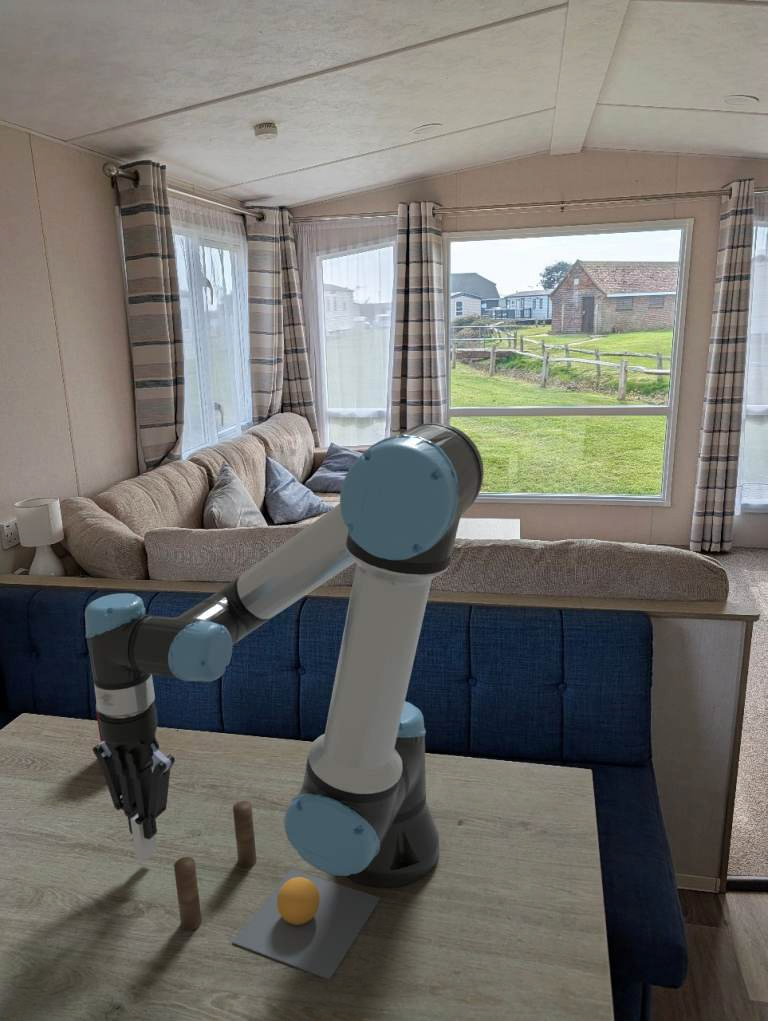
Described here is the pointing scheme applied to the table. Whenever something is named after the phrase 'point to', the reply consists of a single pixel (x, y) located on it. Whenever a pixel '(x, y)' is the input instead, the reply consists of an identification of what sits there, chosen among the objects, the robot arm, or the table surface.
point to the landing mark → (310, 928)
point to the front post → (187, 893)
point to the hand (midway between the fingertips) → (146, 853)
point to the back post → (244, 833)
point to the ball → (298, 900)
